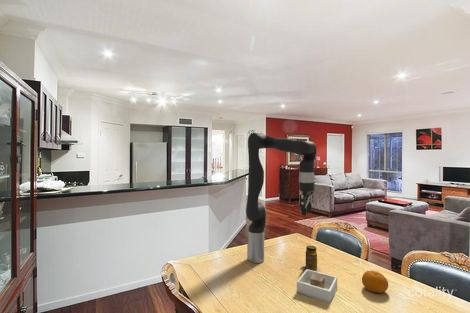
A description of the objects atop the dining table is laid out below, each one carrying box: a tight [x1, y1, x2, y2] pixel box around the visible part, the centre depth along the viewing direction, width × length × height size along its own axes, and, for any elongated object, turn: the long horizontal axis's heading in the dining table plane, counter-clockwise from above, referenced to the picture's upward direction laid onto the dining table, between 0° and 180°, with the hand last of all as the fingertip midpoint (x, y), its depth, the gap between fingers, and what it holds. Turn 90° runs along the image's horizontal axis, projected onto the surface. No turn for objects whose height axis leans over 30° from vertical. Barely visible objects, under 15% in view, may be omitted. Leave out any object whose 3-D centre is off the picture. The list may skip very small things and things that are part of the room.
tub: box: [296, 269, 338, 304], centre depth 111 cm, size 14×14×5 cm
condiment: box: [299, 245, 321, 272], centre depth 132 cm, size 7×8×12 cm
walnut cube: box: [310, 274, 324, 289], centre depth 111 cm, size 5×5×5 cm
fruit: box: [361, 270, 389, 294], centre depth 111 cm, size 10×10×8 cm
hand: (306, 213), depth 121 cm, fingers open, 8 cm apart
